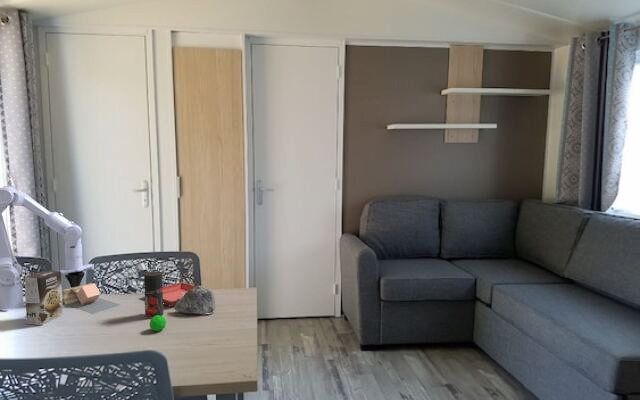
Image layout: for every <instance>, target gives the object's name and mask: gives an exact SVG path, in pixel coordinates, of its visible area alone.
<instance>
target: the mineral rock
mask: <svg viewBox="0 0 640 400" xmlns="http://www.w3.org/2000/svg"><path fill="white" fill-rule="evenodd" d="M173 309H174V311H177V312H180V313H184V314H192V313H194V314H200V315H206V313H211V312H212V313H214V312H215V311H216V297H215V294H214V291H213V290H212V288H210V287H207V288H206V287H204V286H203V285H196V287H194V288H193V289H192V290H190V291H188V292H186V293H185V294H184V296H183V297H180V298H178V299H177V303H176V305H175V306H174V307H173ZM214 310H215V311H214ZM213 311H214V312H213Z"/></svg>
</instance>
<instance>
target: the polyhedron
mask: <svg viewBox="0 0 640 400" xmlns="http://www.w3.org/2000/svg"><path fill="white" fill-rule="evenodd" d="M166 324H167V320H166V318H165V317H164V316H160V315H156V316H154V317H153V318H150V320H149V328H150V329H151V330H152V331H155V332H161V331H163V329H165V327H166Z"/></svg>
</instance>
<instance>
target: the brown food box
mask: <svg viewBox="0 0 640 400" xmlns="http://www.w3.org/2000/svg"><path fill="white" fill-rule="evenodd" d="M24 289H25V290H24V291H25V292H24V293H25V303H26V306H25V310H26V311H25V313H26V316H25V317H26V319H25V320H26V324H27V325H35V326H44V325H45V324H47V323H49V322H51V321H54V320H56V319H58V318H60V317H62V316H63V315H64V310H63V303H62V298H63V286H62V276H61V271H58V270H43V271H39V272H36V273H34V274H30V275H28V276H27V275H26V276H24Z"/></svg>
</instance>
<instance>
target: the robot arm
mask: <svg viewBox="0 0 640 400" xmlns="http://www.w3.org/2000/svg"><path fill="white" fill-rule="evenodd" d="M10 205H12V206H13V207H15V206H16V207H24V208H25V209H27V210H29V211H31V212H32V213H34V214H35V215H37V216H39V217H40V218H41V219H43V221H44V225H46V226H47V227H49V228H51V229H52V230H53V231H54V232H56V233H58V234H59V235H62V237H63V240H64V243H65V245H64V257H65V258H64V259H65V262H64V263H65V268H61V269H59V270H57V271H61V277H63V276H64V277H65V279H66V280H67V281H68V283H69V285H70V288H73V287H77V286H81V283H82V280H83V278H84V276H85V271H88V270H95V264H93V263H87V264H83V263H84V262H83V244H82V232H83V231H82V228H81V226H79V225H78V224H76V223H75V222H74V221H70V220H68V218H65V217H64V214H63V213H62V212H59V213H58V212H57V211H53V212H51V211H49V210H48V209H47V208H46V207H44V206H43V205H42V204H40V203H39V202H37V201H36V200H35V199H33V198H32V197H31V196H30V195H28V194H27V193H25V192H23V191H22V190H19V189H17V188H16V187H15V186H12V185H6V186H3V187H0V311H2V312H7V311H10V310H14V309H18V308H23V307H26V302H24V293H23V290H24V289H23V279H21V277H20V276H21V275H22V273H23V267H22V265H21V264H20V263H18V261H17V258H16V256H15V255H14V252H13V249H12V244H11V242H10V237H9V235H8V231H7V228H6V224H5V220H4V217H3V216H4V215H3V212H5V210H7V208H8V207H9V206H10Z"/></svg>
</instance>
